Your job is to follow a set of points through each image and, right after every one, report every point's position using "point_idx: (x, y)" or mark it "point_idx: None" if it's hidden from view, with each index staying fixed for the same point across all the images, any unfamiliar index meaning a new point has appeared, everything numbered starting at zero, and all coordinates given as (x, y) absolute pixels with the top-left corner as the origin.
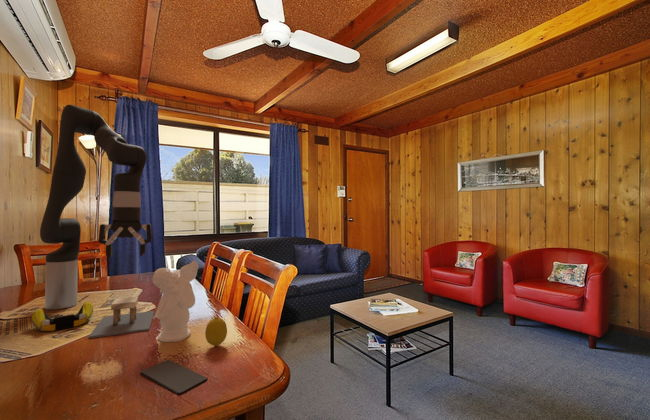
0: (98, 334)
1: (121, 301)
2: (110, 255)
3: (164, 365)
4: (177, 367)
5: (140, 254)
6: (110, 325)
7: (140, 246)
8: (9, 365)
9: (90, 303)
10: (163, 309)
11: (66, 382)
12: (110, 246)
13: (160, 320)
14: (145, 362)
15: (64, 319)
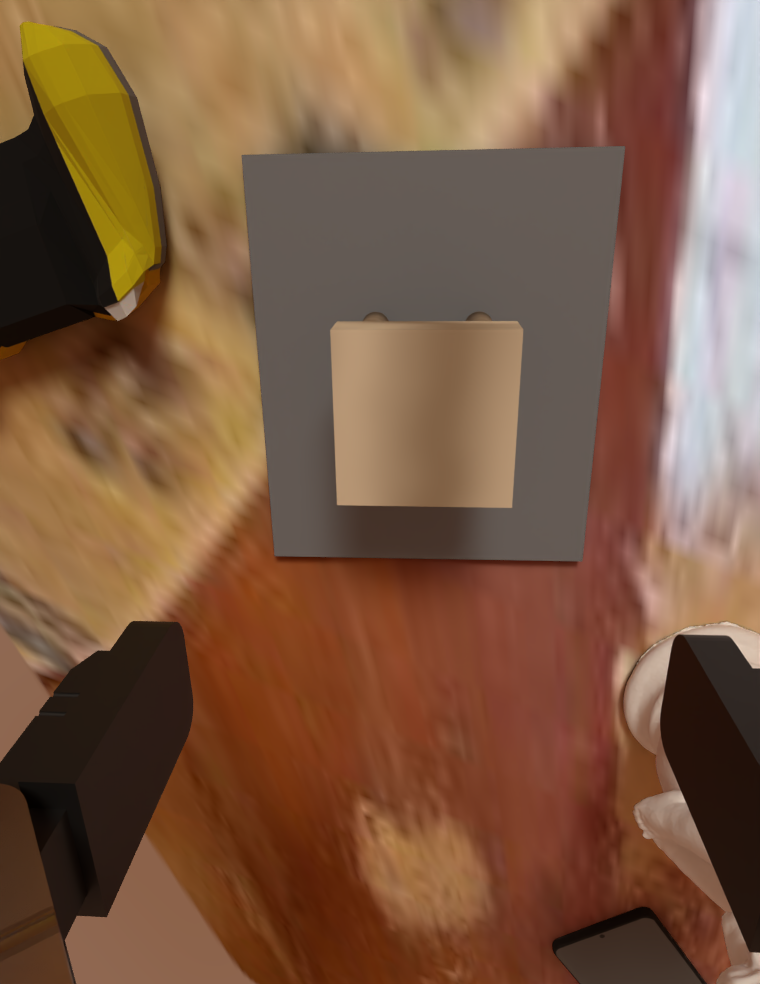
0: (317, 547)
1: (399, 448)
2: (178, 742)
3: (631, 946)
4: (672, 971)
5: (676, 756)
6: None
7: (740, 906)
8: None
9: (79, 66)
10: (700, 887)
11: (336, 905)
12: (103, 897)
13: (662, 787)
14: (566, 880)
15: (34, 327)
